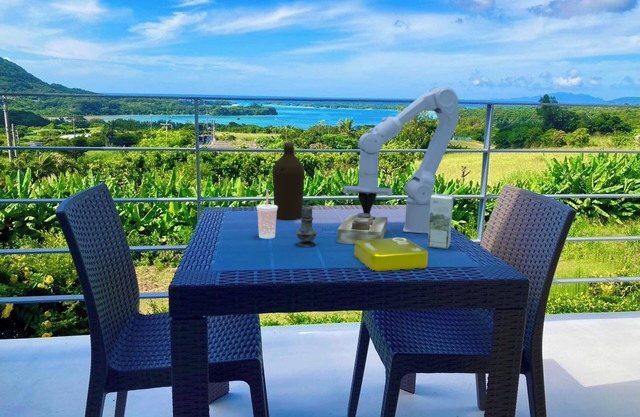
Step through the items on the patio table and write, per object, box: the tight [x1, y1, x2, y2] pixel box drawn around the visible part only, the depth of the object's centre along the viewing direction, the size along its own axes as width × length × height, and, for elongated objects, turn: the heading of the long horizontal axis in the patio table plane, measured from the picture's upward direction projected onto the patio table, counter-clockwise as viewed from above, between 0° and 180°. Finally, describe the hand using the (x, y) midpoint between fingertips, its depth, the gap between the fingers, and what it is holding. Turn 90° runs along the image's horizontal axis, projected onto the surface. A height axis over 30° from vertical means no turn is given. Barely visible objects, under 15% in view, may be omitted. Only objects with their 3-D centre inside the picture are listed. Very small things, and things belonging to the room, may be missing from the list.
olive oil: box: [272, 141, 306, 221], centre depth 188 cm, size 11×11×25 cm
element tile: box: [354, 237, 429, 272], centre depth 143 cm, size 15×15×5 cm
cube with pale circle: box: [352, 218, 370, 230], centre depth 160 cm, size 4×4×4 cm
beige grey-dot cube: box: [356, 212, 373, 225], centre depth 166 cm, size 4×4×4 cm
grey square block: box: [336, 214, 388, 245], centre depth 167 cm, size 12×20×4 cm, turn 168°
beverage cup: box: [256, 188, 278, 240], centre depth 163 cm, size 6×6×14 cm
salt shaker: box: [295, 202, 318, 248], centre depth 155 cm, size 6×6×12 cm
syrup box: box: [427, 193, 455, 250], centre depth 157 cm, size 6×6×14 cm
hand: (366, 217), depth 173 cm, fingers closed, pressing on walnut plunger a
